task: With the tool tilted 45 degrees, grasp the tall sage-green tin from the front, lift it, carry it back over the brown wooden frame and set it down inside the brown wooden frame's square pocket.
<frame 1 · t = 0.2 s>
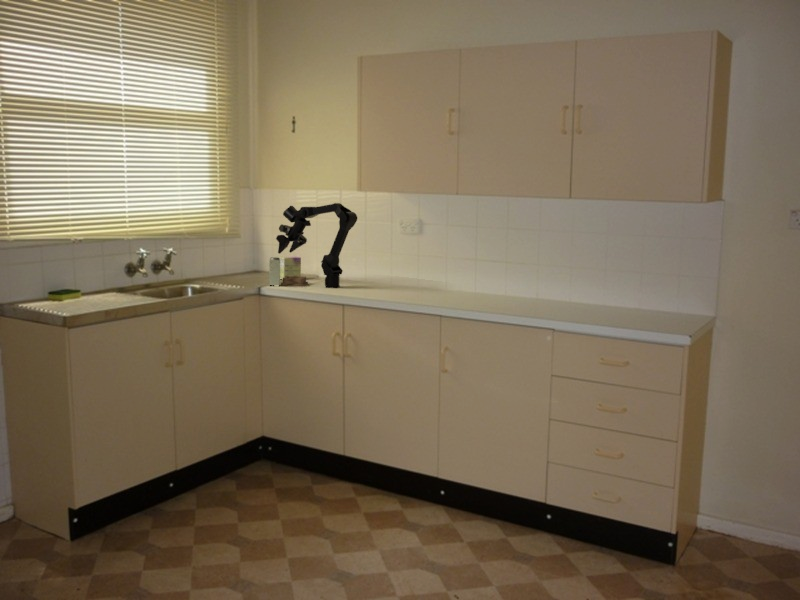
hand: (284, 252, 412), 15 cm above the worktop, tool tilted 35°, fingers open, 9 cm apart
brown wooden frame: (294, 284, 405), on the worktop
tin: (274, 285, 398), on the worktop
box: (289, 279, 423), on the worktop
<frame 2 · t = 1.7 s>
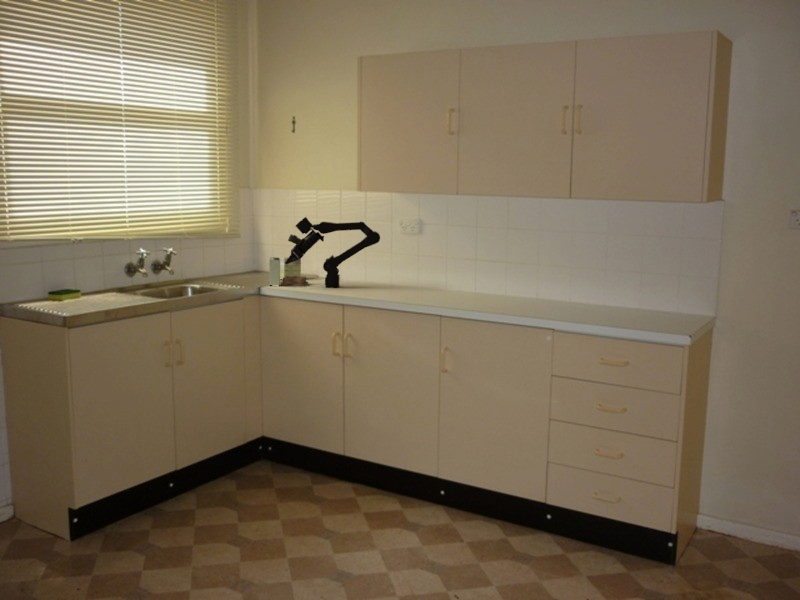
hand: (286, 262, 397), 12 cm above the worktop, tool tilted 45°, fingers open, 9 cm apart
nothing on the worktop moved.
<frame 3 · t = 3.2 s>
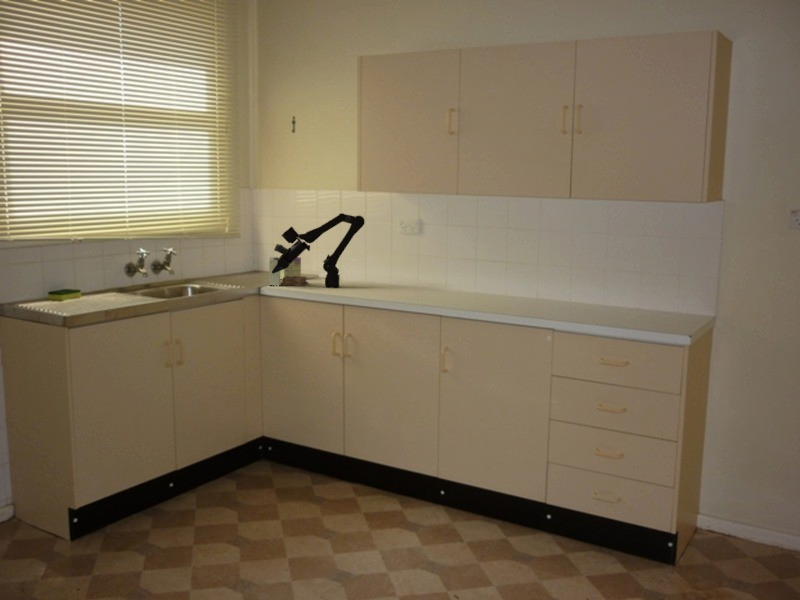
hand: (272, 272, 397), 7 cm above the worktop, tool tilted 45°, fingers closed on tin, 5 cm apart
tin: (274, 285, 398), on the worktop, touching gripper
everything else where it was.
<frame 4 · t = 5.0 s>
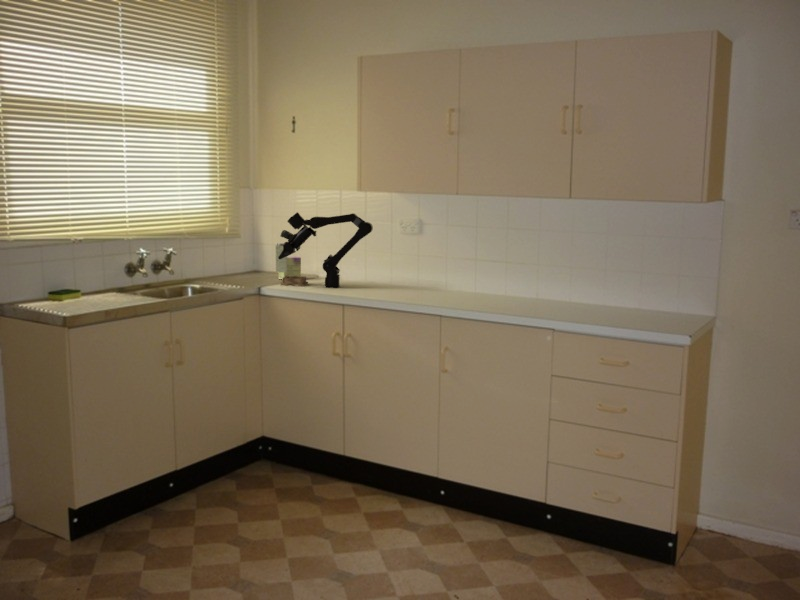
hand: (279, 258, 399), 13 cm above the worktop, tool tilted 45°, fingers closed on tin, 5 cm apart
tin: (281, 271, 400), point 7 cm above the worktop, touching gripper
everything else where it was.
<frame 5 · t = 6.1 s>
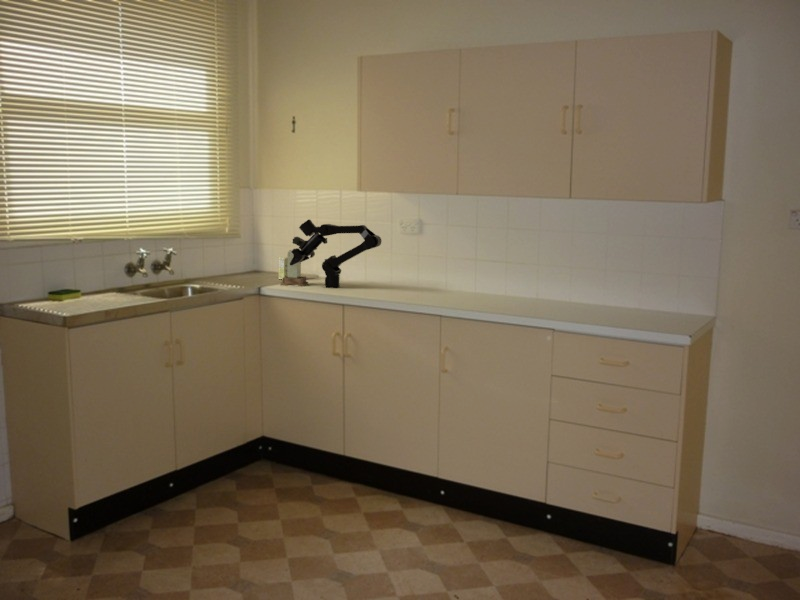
hand: (292, 264, 404), 10 cm above the worktop, tool tilted 45°, fingers closed on tin, 5 cm apart
tin: (293, 277, 404), point 3 cm above the worktop, touching gripper
everything else where it was.
when the fingers open (9 cm above the worktop, at t = 6.6 s): tin drops 1 cm, resting on brown wooden frame.
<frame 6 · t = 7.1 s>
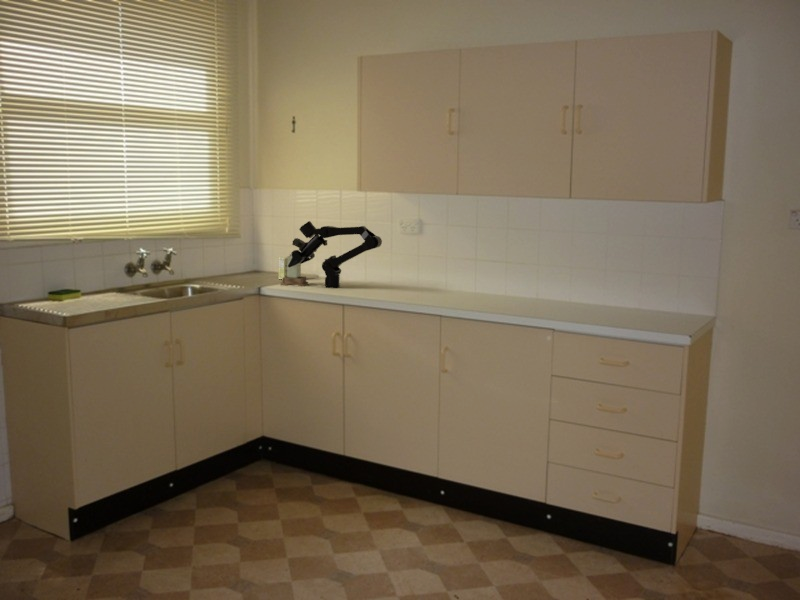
hand: (292, 265, 404), 9 cm above the worktop, tool tilted 45°, fingers open, 9 cm apart
tin: (293, 281, 405), point 1 cm above the worktop, touching brown wooden frame
everything else where it was.
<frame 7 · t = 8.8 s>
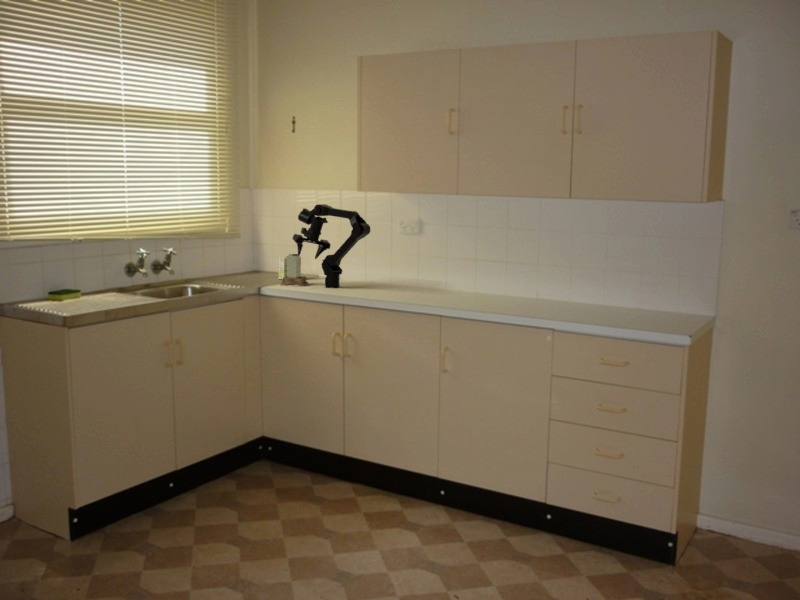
hand: (306, 257, 405), 14 cm above the worktop, tool tilted 20°, fingers open, 9 cm apart
nothing on the worktop moved.
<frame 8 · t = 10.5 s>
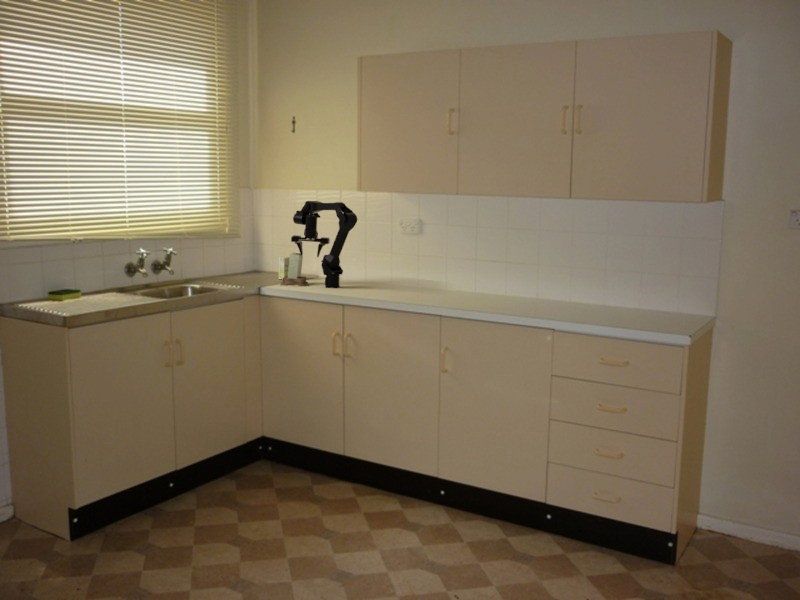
hand: (309, 256, 408), 14 cm above the worktop, tool pointing down, fingers open, 8 cm apart
tin: (293, 280, 405), point 2 cm above the worktop, tilted 14°, touching brown wooden frame, gripper
everything else where it was.
at the end: tin 0.4 cm off-centre on the brown wooden frame, point 1.8 cm above the brown wooden frame's base; tin tilted 14°; the gripper is holding nothing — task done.
